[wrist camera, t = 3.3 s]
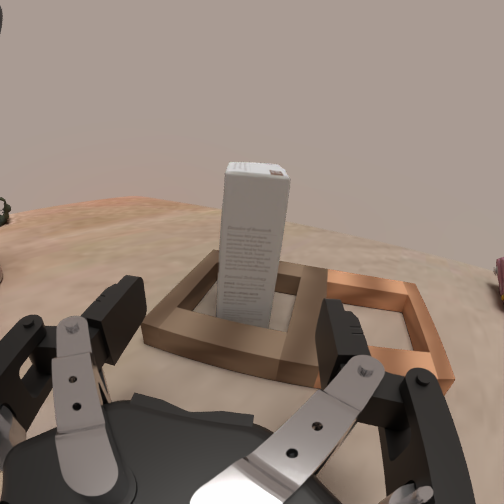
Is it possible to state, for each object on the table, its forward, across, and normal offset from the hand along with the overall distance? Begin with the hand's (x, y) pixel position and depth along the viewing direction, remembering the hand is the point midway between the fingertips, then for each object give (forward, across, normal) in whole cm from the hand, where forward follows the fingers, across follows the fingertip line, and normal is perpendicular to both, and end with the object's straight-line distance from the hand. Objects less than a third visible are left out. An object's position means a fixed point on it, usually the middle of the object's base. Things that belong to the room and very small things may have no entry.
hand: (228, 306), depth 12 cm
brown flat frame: (+9, -5, +7) cm, 13 cm away
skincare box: (+10, 0, +7) cm, 12 cm away
